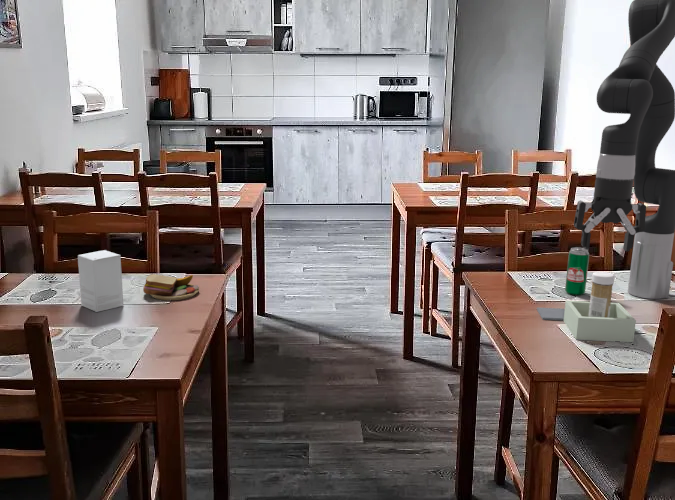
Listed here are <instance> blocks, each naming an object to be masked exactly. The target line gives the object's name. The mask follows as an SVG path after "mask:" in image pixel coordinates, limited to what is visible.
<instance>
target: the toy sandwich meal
mask: <svg viewBox="0 0 675 500" xmlns="http://www.w3.org/2000/svg"><path fill="white" fill-rule="evenodd" d="M193 277H194V276H193V274H191V275H189V276H185V277H180V278H179V277H175V276H168V275H161V274H156V273H154V274H153V273H152V274H149V275H148V276H147V277H145V283H144V285H143V293H145V294H147V295H150V296H151V297H152V298H154V299H156V300H161V301H177V300H178V301H180V300H185V299H189V298H190V299H191V298H192V297H194V296H196V294H198V292H199V290H200V286H199V285H198V284H193V283H192V284H191V281H192V280H193Z"/></svg>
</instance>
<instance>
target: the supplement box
mask: <svg viewBox="0 0 675 500" xmlns="http://www.w3.org/2000/svg"><path fill="white" fill-rule="evenodd" d="M121 257H122V256H121V254H118V253H115V252H111V251H109V250H107V249H104V250H98V251H93V252H88V253H83V254H78V255H77V265H78V275H79V276H78V277H79V279H78V280H79V289H80V290H79V292H80V305H81V306H82V307H84V308H86V309H89V310H91V311H93V312H96V313H97V312H98V313H99V312H103V311H108V310H111V309H115V308H120V307H123V306H124V295H123V294H124V291H123V289H124V288H123V277H122V275H123V274H122V262H121V261H122V260H121V259H122V258H121Z"/></svg>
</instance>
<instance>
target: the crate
mask: <svg viewBox="0 0 675 500" xmlns="http://www.w3.org/2000/svg"><path fill="white" fill-rule="evenodd" d="M589 306H590V301H583V300H565V304H564V309H565V312H564V321H563V323H564V324H565V326H566V327H567V328H568V330H569V332H571V334H572V336H573V338H575V340H576V341H577V340H580V341H597V342H615V341H620V342H619V343H634V339H635V338H634V337H635V332H636V331H635V329H636V323H637V320H636V319H635V318H634V317H633V316H632V315H631V313H630V312H629V311H627V309H625V308H624V306H622V304H620V303H619V302H611V304H610V306H611V307H610V316H609V318H605V317H589Z"/></svg>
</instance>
